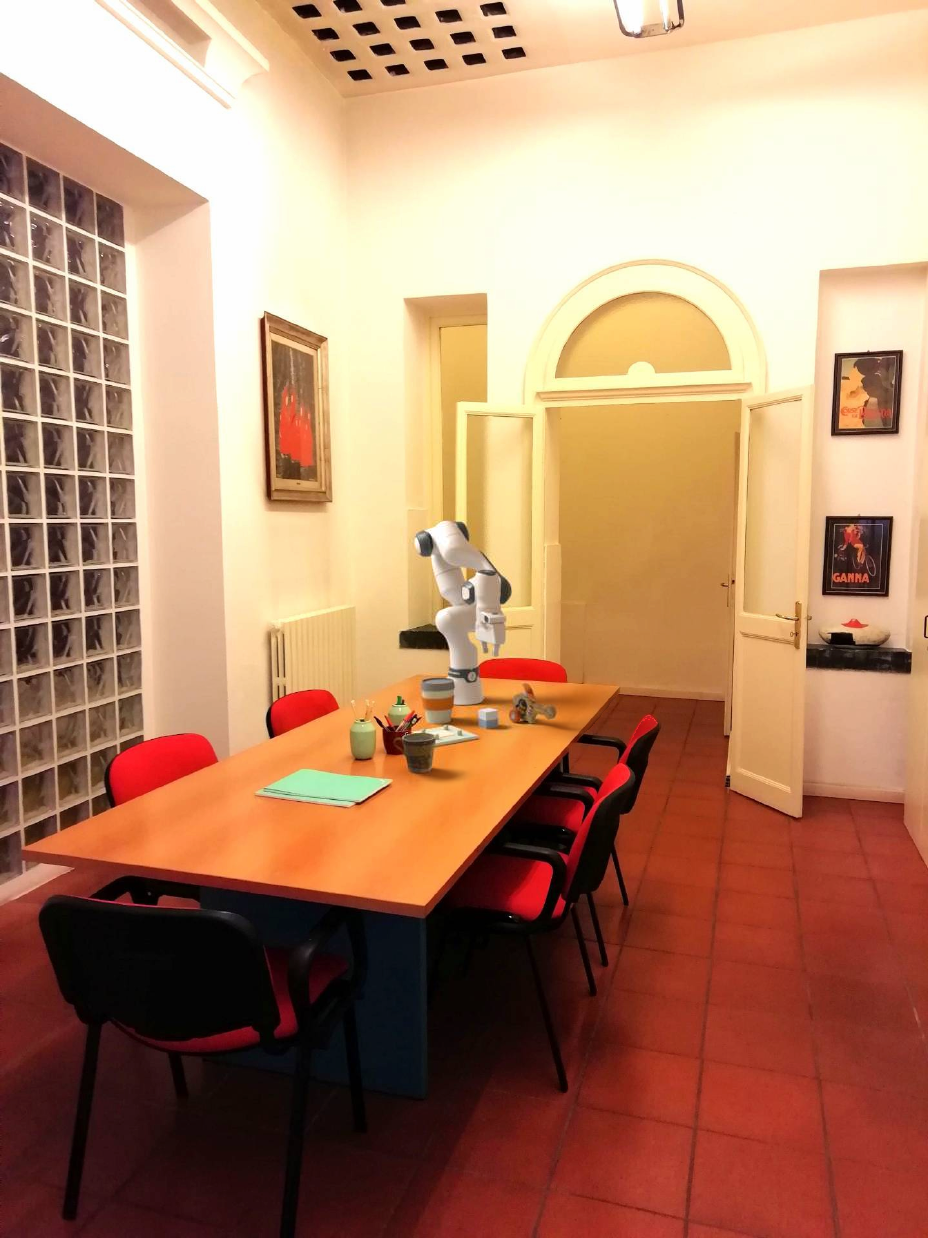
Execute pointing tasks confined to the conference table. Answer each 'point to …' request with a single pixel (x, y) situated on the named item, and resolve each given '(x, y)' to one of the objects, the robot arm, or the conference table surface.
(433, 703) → the reusable coffee cup
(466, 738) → the baseplate
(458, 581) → the robot arm
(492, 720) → the brick stack
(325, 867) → the conference table surface
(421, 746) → the ceramic cup
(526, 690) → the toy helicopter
